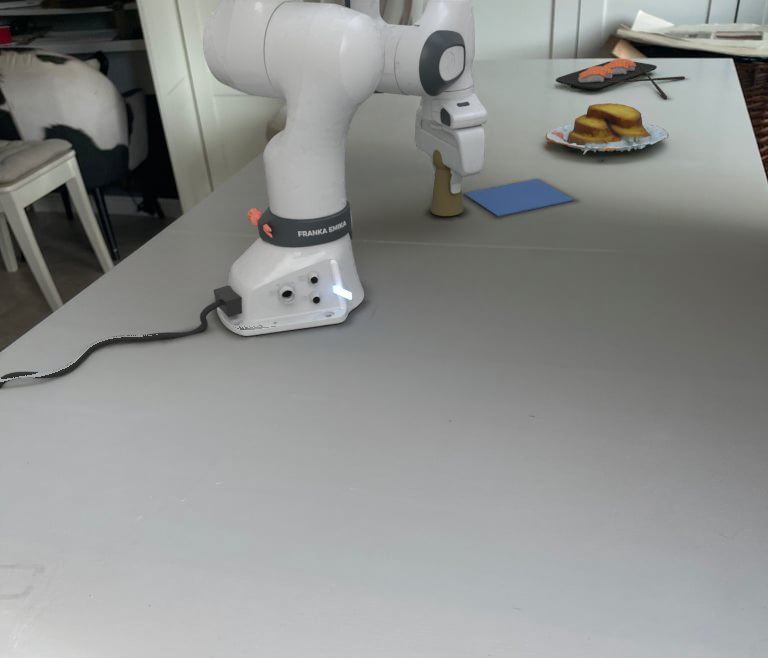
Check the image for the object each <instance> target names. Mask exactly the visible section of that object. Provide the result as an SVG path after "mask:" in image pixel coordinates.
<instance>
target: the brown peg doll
mask: <svg viewBox="0 0 768 658" xmlns="http://www.w3.org/2000/svg"><path fill="white" fill-rule="evenodd" d="M433 163H434V165H435V167H436V171H435V180H434V179H433V189H432V195H431V196H432V198H431V204H430V205H431V206H430V212H431V213H432V214H433V215H436V216H440V217H451V216H452V217H453V216H456V215H460V214H462V213H463V212H464V202H463V192H462V190H461V191H460V192H459V193H455V194H453V193H451V192H450V191H449V190H448V187H449V186H448V182H449V181H451V177H452V174H451V173H450V168H449V167H447V166H446V165H444V164H443V162H442V156H441V153H440V152H439V151H438V150H435V151H434V153H433Z"/></svg>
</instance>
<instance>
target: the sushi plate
mask: <svg viewBox="0 0 768 658" xmlns="http://www.w3.org/2000/svg"><path fill="white" fill-rule="evenodd" d="M657 68H658V65H655V64H651V63H644V62H638V61H632V60H630V59H626V58H617V59H612V60H610V61H609V60H608V61H606V62H602V63H599V64H595V65H593V66H590V67H587V68H586V67H585V68H584V69H581V70H577V71H574V72H570V73H567V74H565V75H561V76H558V77H557V78H556V79H555V82H556V83H559V84H561V85H562V84H563V85H567V86H569V87H570V88H571V89H576V90H580V91H588V92H594V91H599V90H603V89H606V88H609V87H612V86H615V85H619V84H620V83H632V82H651V83H652V84H653V86H654V88H656V90H657V91H658V92H659V94H660V96H662V98H663V100H667V99H668V95H667V94H666V93H665V92H664V91H663V89H662V88H661V87H660V86H659V85H658V84H657V83H656V82H655V81H673V80H674V81H675V80H676V81H677V80H685V78H686V76H683V75H681V76H665V77H652V78H651V76H650V75H649V73H650V72H652V71H655V70H656V69H657ZM644 74H645V76H646V77H647V78H640V79H635V78H638V77H640V76H642V75H644Z"/></svg>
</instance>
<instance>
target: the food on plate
mask: <svg viewBox="0 0 768 658" xmlns="http://www.w3.org/2000/svg"><path fill="white" fill-rule="evenodd" d="M564 128H565V130H564ZM669 136H670V135H669V132H668V131H667V130H666V129H664V128H662V127H659V126H658V125H654V124H649V123H643V117H642V113H641V112H640V110H638V109H637V108H635V107H633V106H629V105H626V104H620V103H609V102H608V103H595V104H590V105H589V106H588V108H587V111H586V113H584V114H582V115H580V116H578V117H576V118H575V120H574V122H573V123H572V124H571V123H570V124H566V125H562V126H559V127H556V128H555V129H552V130H550V131H549V132H547V133H546V134H545V137H546V139H545V140H546V144H547V146H546V148H550V146H551V145H550V143H554V144H558V145H562V146H563V145H564V146H567V147H570V148H573V149H578V150H581V152H583V155H585V154H586V153H587V152H589V151H592V152H594V153H596V152H597V151H598V152H605V151H607V152H613V151H616V152H619V151H620V152H621V153H622V152H624V151H628V152H630V151H631V150H633V149H634V150H637V149H638V150H642V149H643V148H646V146H647V145H655V144H656V143H657V142H661V141H663V140H664V139H669ZM601 162H603V159H602V160H601Z"/></svg>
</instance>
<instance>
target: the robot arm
mask: <svg viewBox="0 0 768 658" xmlns="http://www.w3.org/2000/svg"><path fill="white" fill-rule="evenodd" d="M473 7H474V6H473V2H472V0H423V4H422V11H421V16H420V17H419V19H418V20H417V21H416V22H415V23H413V24H412V25H409V24H408V25H406V24H393V23H392V24H391V23H387V22H386V21H385V20H384V19H383V18H382V16H381V13H380V0H344V5H341V4H337V3H330V2H329V3H327V2H308V1H304V0H221V2H220V3H219V4H218V5H217V6H216V7H215V8H214V9H213V10H212V11H211V13H210V14H209V15H208V18H207V20H206V22H205V25H204V29H203V34H202V49H203V55H204V59H205V62H206V66H207V67H208V69H209V71H210V73H211V75H212V76H213V77H214V79H216V80H217V81H218V82H219V83H220V84H222V85H224V86H227V87H229V88H230V89H233V90H236V91H238V92H240V93H243V94H246V95H248V96H255V97H262V98H270V99H276V100H277V99H278V100H285V103H286V104H285V105H286V121H285V126H284V129H282V130H281V131H279V132H278V133H276V134H275V135H274V136H272V138H271V139H270V140H269V141H268V143H267V144H266V145H265V148H264V150H263V155H262V164H263V171H264V177H265V185H266V186H265V187H266V195H267V201H268V206H267V208H266V209H265V210H264V212H263V213H262V212H261V210H259V208H257V207H253V208H250V209H249V210H248V212H247V218H248V220H249V221H250V223H251V224H252V225H253V226H256V227H257V229H258V234H259V236H258V237H257V239H255V240H254V242H253V243H251V245H250V246H249V247H248V248H247V249H246V250H245V251H244V252H243V253H242V254H241V255H240V256H239V257H238V258H237V259H236V260H235V261H233V263H232V264H231V266H230V269H229V273H228V284H227V285H225V286H222V287H221V286H220V287H218V288H217V287H216V288H215V289H213V295H214V300H215V301H214V302H212V303H210V304H209V305H207V306H205V307H204V308H203V309H202V311H201V312H200V314H199V321H200V324H199V326H197V327H196V328H195V329H192V330H188V331H181V332H180V331H179V332H178V331H177V332H175V331H173V332H169V331H168V332H167V331H166V332H154V333H147V336H146V334H142V335H143V337H121V338H113V339H108V340H105V341H102V342H99V343H97V344H95V345H93V346H92V347H90V348H89V349H88V350H87V351H86V352H85V353H84V354H83V355H82V356H81V357H80V358H79V359H78V360H77V361H76V362H75V363H73V364H72V365H70V366H69V367H67V368H65V369H62V370H60V371H58V372H55V373H52V374H49V375H45V376H41V377H35V378H34V379H51V378H52V379H53V378H57V377H60V376H63V375H66V374H67V373H69V372H72V371H73V370H74V369H75V368H77V367H78V366H79V365H80V364H81V363H83V361H84V360H85V359H86V358H87V357H88V356H89V355H90V354H91V353H93V352H94V351H95V350H98V349H99V348H101V347H105V346H107V345H111V344H117V343H125V342H127V343H129V342H130V343H131V342H149V341H156V340H166V339H167V340H173V339H180V338H185V337H189V336H193V335H197V334H201V333H203V332H204V331H205V330H206V329H207V327H208V325H209V324H208V323H209V322H208V319H207V316H208V314H209V313H211V312H212V311H214V310H216V313H217V316H218V317H219V320H220V321H221V323H222V324H223V325H224V326H225V328H227V329H228V330H229V331H231V332H233V333H235V334H237V335H240V336H243V337H249V336H251V337H252V336H256V335H257V336H258V335H264V334H271V333H279V332H287V331H293V330H299V329H300V330H301V329H307V328H308V329H309V328H315V327H322V326H328V325H335V324H336V325H337V324H340V323H343V322H345V321H346V320H347V318H348V316H349V313H351V312H352V311H353V310H354V309H356V308H357V307H358V306H359V305H360V304H361V303H362V302H363V301H364V298H365V290H364V288H363V285H362V283H361V280H360V277H359V273H358V269H357V265H356V262H355V261H356V260H355V257H354V252H353V246H352V240H353V216H352V210H351V204H350V201H349V200H348V199H347V187H346V156H345V155H346V153H345V152H346V151H345V150H346V142H347V136H348V134H349V133H348V132H349V129H350V127H351V123H352V121H353V118H354V116H355V115H356V113H357V112H358V110H359V108H361V106H362V105H363V104H364V103H365V102H366V101H367V100H368V99H370V98H371V96H373V94H392V95H398V96H399V95H400V96H414V97H420V99H419V106H418V107H417V108H416V112H415V119H414V120H415V123H414V142H415V146H416V148H417V149H418V150H421V151H422V152H423V153H425V154H426V155H428V156H429V162H430V166H431V170H432V174H433V181H434V180H435V171H436V167H435V165H434V163H433V153H434V151H435V150H438V151H439V152H440V153H441V156H442V162H443V164H444V165H446V166H447V167H449V168H450V173H451V174H452V177H451V181H449V182H448V186H449V187H448V190H449V191H450V192H451V193H453V194H455V193H459V192H460V191H462V182H463V179H464V178H465V177H471V176H475V175H476V176H477V175H480V173H481V172H482V171H483V168H484V164H485V151H486V150H485V149H486V134H485V129H484V127H483V125H485V124H487V122H488V112H487V109H486V108H485V107H484V105H483V104H482V102H481V100H479V98H478V96H477V93H476V92H475V90H474V89H475V80H474V76H473V62H474V59H475V55H476V54H475V52H476V36H475V35H476V34H475V33H476V29H475V15H474V9H473ZM259 325H260V326H259ZM261 325H262V326H263V327H269V328H262V329H255V330H240V328H239V326H240V327H241V328H242V327H243V328H244V329H245V327H248V328H250V327H253V326H255V327H257V326H258V327H261ZM233 326H234V327H233ZM244 326H245V327H244ZM249 326H250V327H249ZM271 326H276V327H271ZM235 327H236V328H235ZM237 328H239V329H237ZM253 328H254V327H253ZM156 334H158V335H156ZM126 335H127V334H126ZM130 335H131V336H132V335H133V336H134V335H135V336H136V335H137V334H128V335H127V336H130ZM144 335H145V336H144ZM148 335H152V336H148ZM115 336H116V337H117V336H118V335H115ZM38 372H39V371H13V372H9V373H6V374H4V375H2V376H1V377H0V378H1V379H7V378H13V377H14V378H15V377H19V376H25V375H26V376H27V375H32V374H36V373H38ZM12 380H14V379H12ZM12 380H8V381H4V382H0V389H1V388H2V387H3V386H4V385H5V384H6V383H8V382H11V381H12Z"/></svg>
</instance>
